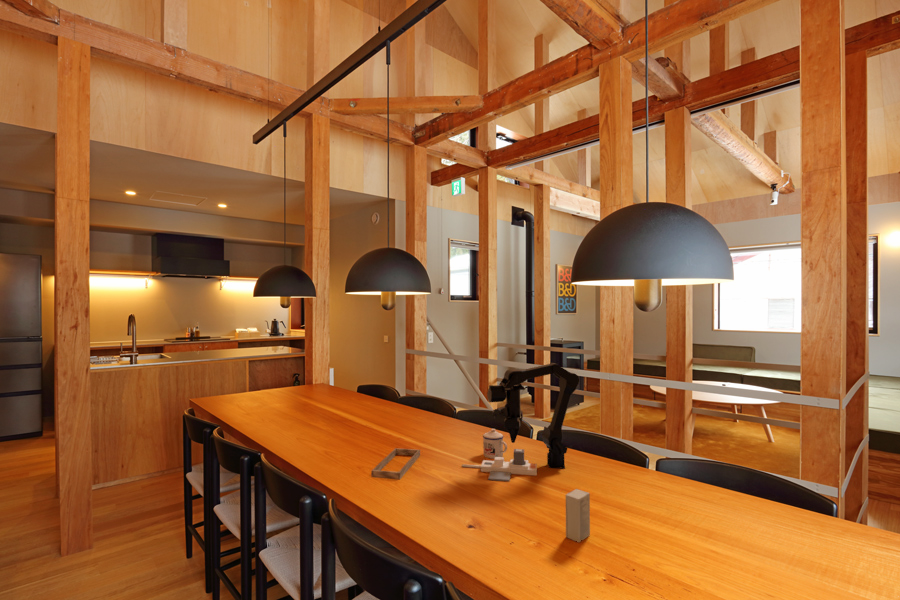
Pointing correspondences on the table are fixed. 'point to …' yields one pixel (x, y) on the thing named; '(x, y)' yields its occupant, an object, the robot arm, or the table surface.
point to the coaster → (499, 476)
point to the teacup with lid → (493, 444)
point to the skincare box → (577, 515)
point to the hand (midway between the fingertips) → (514, 439)
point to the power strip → (506, 466)
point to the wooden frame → (396, 451)
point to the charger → (518, 457)
